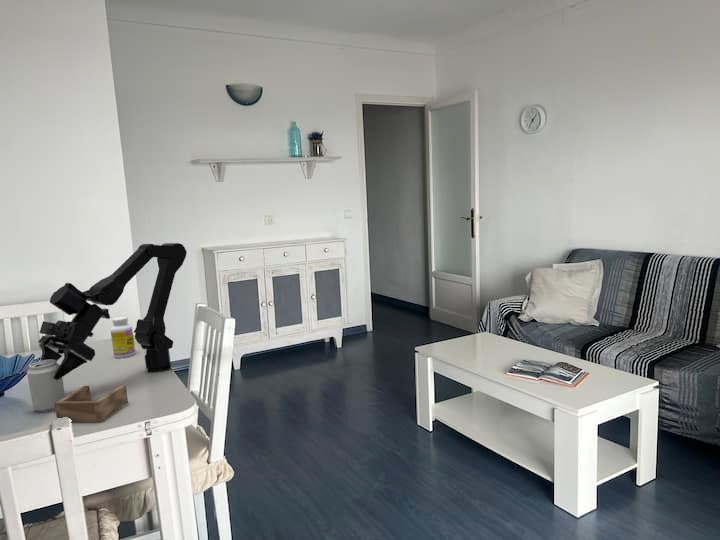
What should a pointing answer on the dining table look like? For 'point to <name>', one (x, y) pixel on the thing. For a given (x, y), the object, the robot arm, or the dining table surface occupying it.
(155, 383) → the dining table surface
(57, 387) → the can
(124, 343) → the supplement bottle
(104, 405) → the u rest
